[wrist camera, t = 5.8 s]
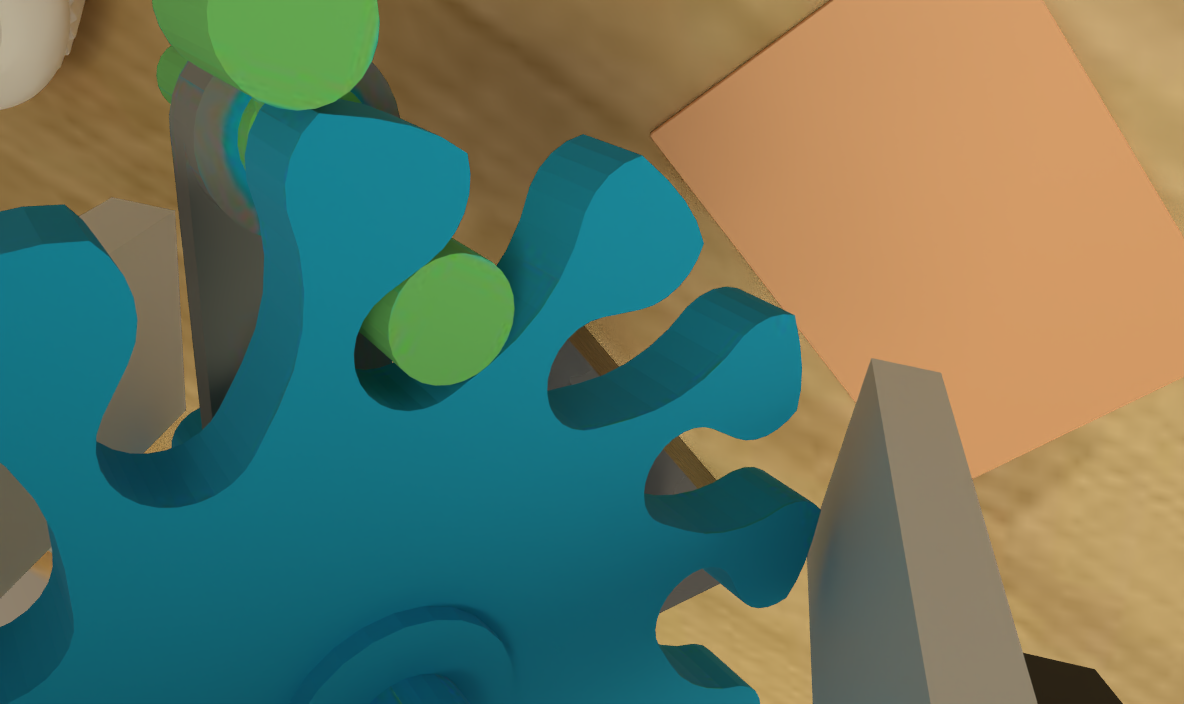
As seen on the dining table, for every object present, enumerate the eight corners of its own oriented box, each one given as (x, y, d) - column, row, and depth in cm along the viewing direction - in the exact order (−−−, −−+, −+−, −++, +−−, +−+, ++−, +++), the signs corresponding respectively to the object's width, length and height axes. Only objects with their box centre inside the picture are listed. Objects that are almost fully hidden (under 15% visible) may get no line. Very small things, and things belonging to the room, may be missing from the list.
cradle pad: (650, 132, 28) (649, 135, 28) (977, -108, 24) (979, -107, 24) (928, 493, 33) (929, 499, 33) (1243, 341, 29) (1248, 346, 29)
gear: (790, 897, 13) (-194, 1557, 7) (541, 631, 17) (-190, 920, 12) (977, -39, 8) (-1182, -134, 3) (576, -75, 13) (-576, -138, 7)
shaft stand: (307, 438, 36) (192, 601, 28) (539, 274, 31) (472, 418, 24) (525, 653, 39) (472, 846, 32) (761, 534, 35) (761, 727, 28)
